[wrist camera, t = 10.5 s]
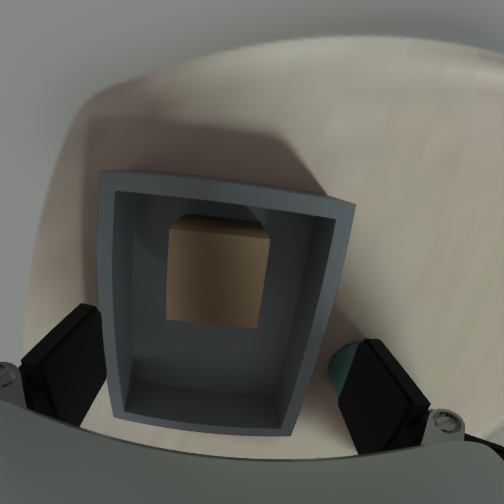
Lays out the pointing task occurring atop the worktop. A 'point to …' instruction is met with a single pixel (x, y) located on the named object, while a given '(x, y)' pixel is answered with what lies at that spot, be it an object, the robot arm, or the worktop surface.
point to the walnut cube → (216, 270)
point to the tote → (208, 335)
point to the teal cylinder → (341, 366)
